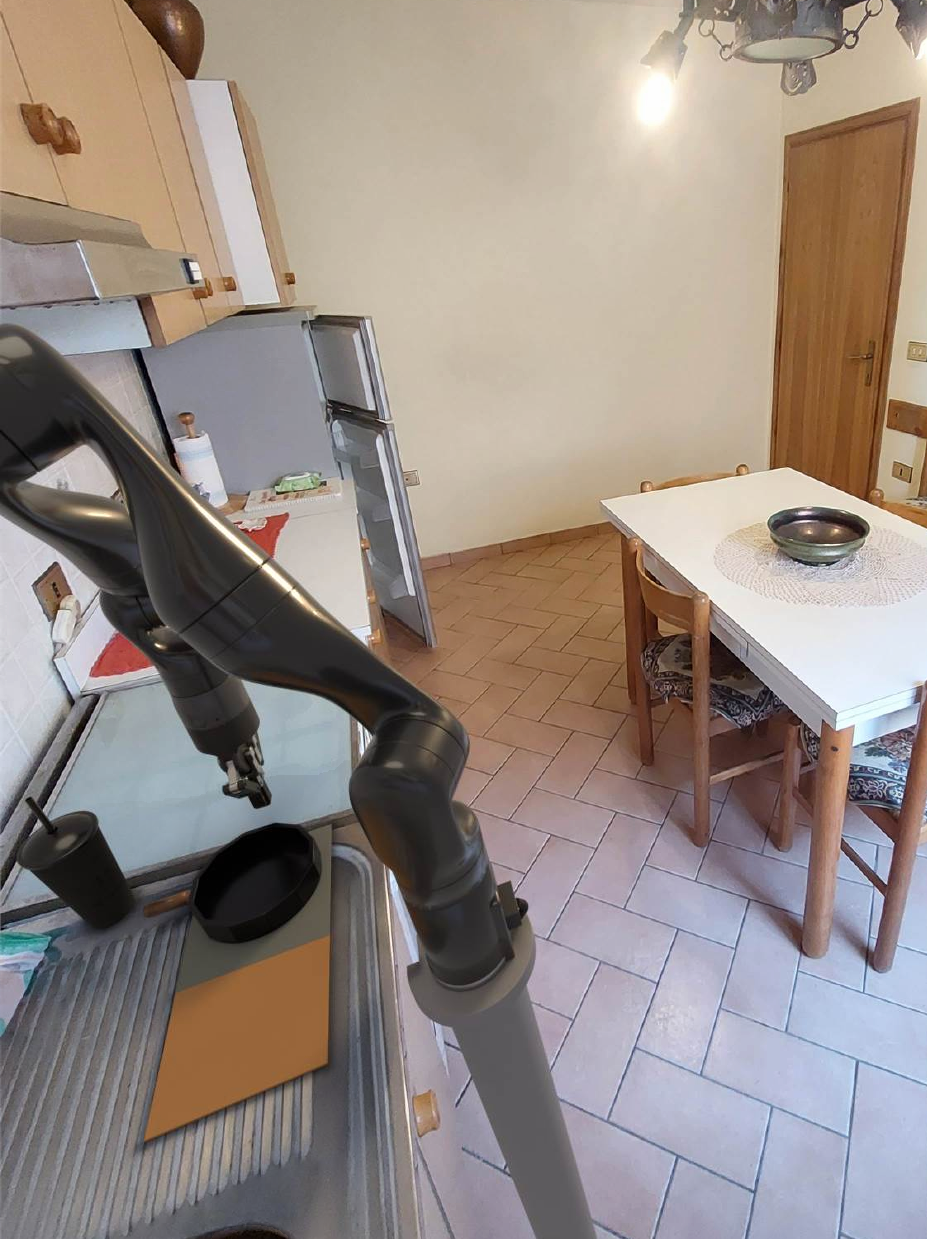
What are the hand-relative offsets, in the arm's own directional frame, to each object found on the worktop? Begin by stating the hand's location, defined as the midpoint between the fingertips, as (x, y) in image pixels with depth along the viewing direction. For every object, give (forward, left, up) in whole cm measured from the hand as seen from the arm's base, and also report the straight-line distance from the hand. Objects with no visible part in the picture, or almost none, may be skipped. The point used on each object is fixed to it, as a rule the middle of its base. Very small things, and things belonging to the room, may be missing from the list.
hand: (263, 803), depth 91 cm
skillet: (+3, +12, -3) cm, 12 cm away
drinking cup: (+18, +7, -4) cm, 20 cm away
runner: (0, +20, -3) cm, 20 cm away
